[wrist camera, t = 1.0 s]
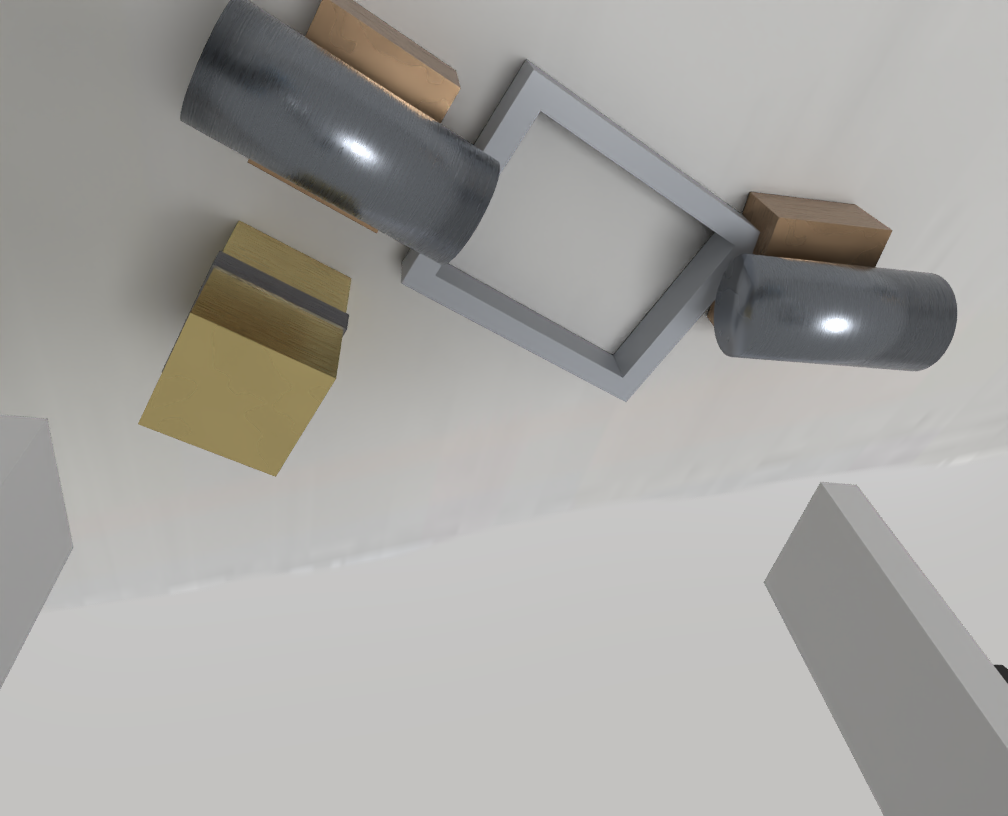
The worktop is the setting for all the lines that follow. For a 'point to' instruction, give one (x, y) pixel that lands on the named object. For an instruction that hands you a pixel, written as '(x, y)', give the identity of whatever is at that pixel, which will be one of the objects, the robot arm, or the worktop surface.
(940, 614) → the robot arm
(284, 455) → the gold rectangular block
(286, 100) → the shaft
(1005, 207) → the worktop surface
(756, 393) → the worktop surface
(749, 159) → the worktop surface
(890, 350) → the shaft
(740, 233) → the cradle
